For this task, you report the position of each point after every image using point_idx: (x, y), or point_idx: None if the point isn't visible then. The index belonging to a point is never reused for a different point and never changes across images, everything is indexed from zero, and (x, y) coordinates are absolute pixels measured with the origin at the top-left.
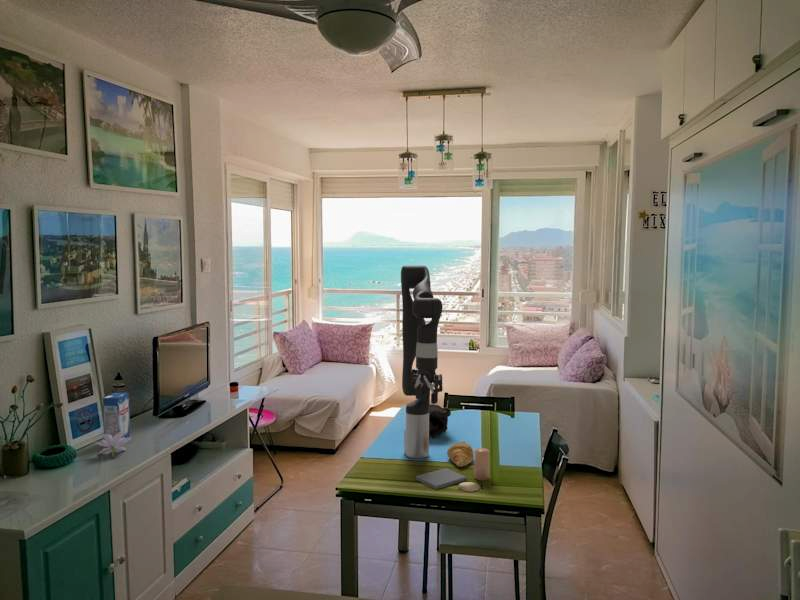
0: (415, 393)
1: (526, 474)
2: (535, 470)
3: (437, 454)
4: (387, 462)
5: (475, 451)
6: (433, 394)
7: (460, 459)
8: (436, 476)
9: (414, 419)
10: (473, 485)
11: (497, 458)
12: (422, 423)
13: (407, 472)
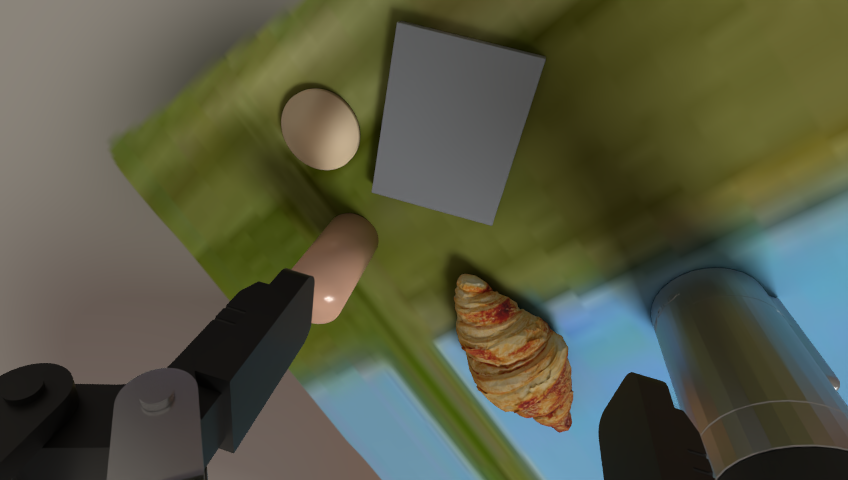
0: (703, 458)
1: None
2: None
3: (626, 349)
4: (810, 158)
5: (323, 276)
6: (207, 370)
7: (468, 300)
8: (464, 120)
9: (777, 418)
10: (311, 145)
11: (424, 399)
12: (713, 414)
13: (634, 108)
